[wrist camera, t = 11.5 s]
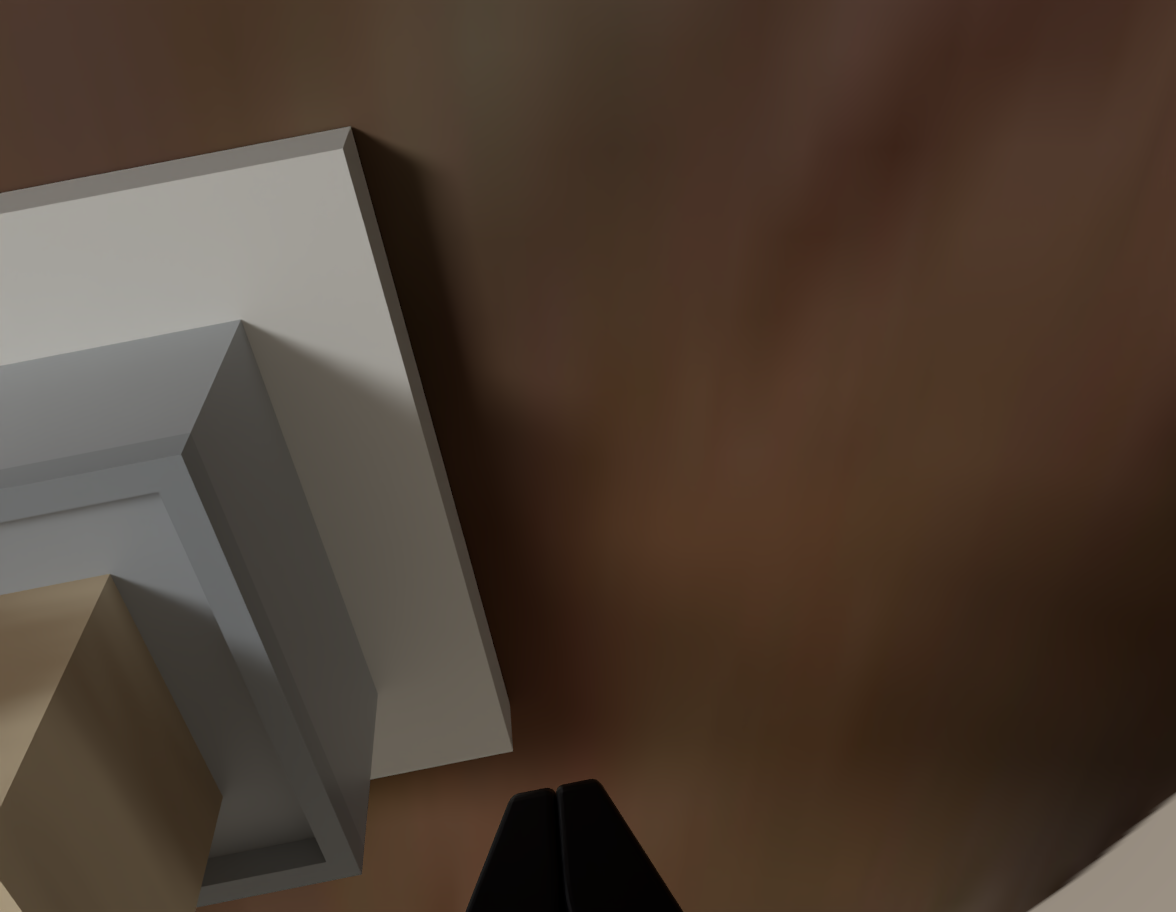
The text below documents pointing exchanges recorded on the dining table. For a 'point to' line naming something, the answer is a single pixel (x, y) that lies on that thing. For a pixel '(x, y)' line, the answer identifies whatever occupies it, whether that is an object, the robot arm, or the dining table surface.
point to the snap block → (94, 762)
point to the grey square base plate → (246, 483)
